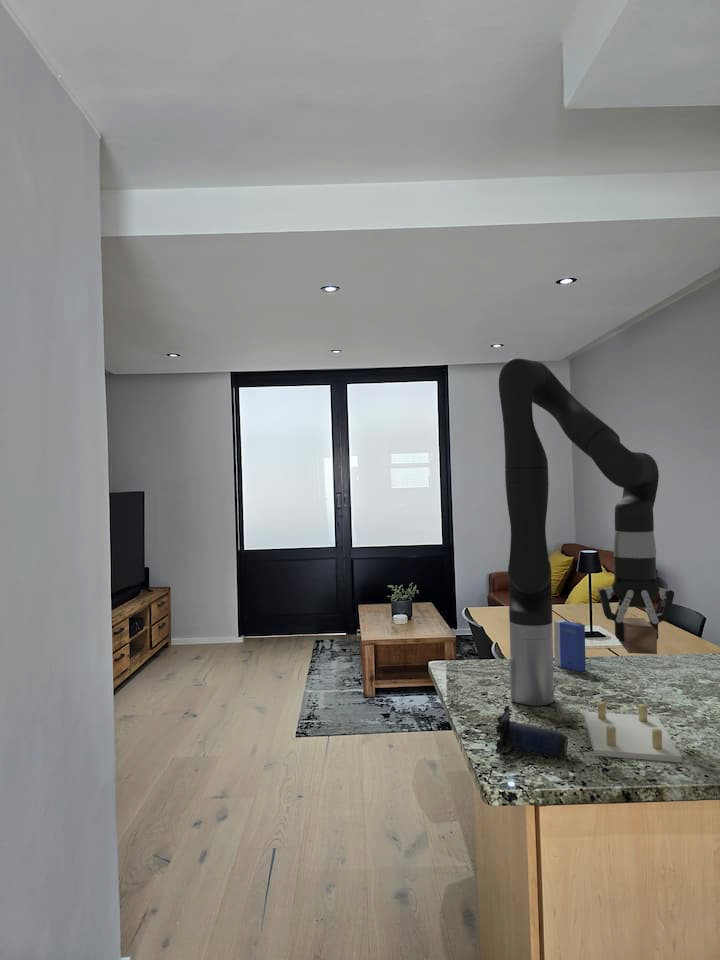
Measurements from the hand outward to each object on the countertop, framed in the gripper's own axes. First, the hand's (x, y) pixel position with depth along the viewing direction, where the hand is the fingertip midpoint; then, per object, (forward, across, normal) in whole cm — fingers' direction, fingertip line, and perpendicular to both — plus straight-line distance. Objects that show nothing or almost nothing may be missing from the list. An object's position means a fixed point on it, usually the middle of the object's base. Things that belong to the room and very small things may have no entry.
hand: (636, 641), depth 127 cm
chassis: (+17, +3, +5) cm, 18 cm away
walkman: (+17, +8, -42) cm, 46 cm away
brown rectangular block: (+1, 0, 0) cm, 1 cm away
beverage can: (+17, +21, +15) cm, 31 cm away
